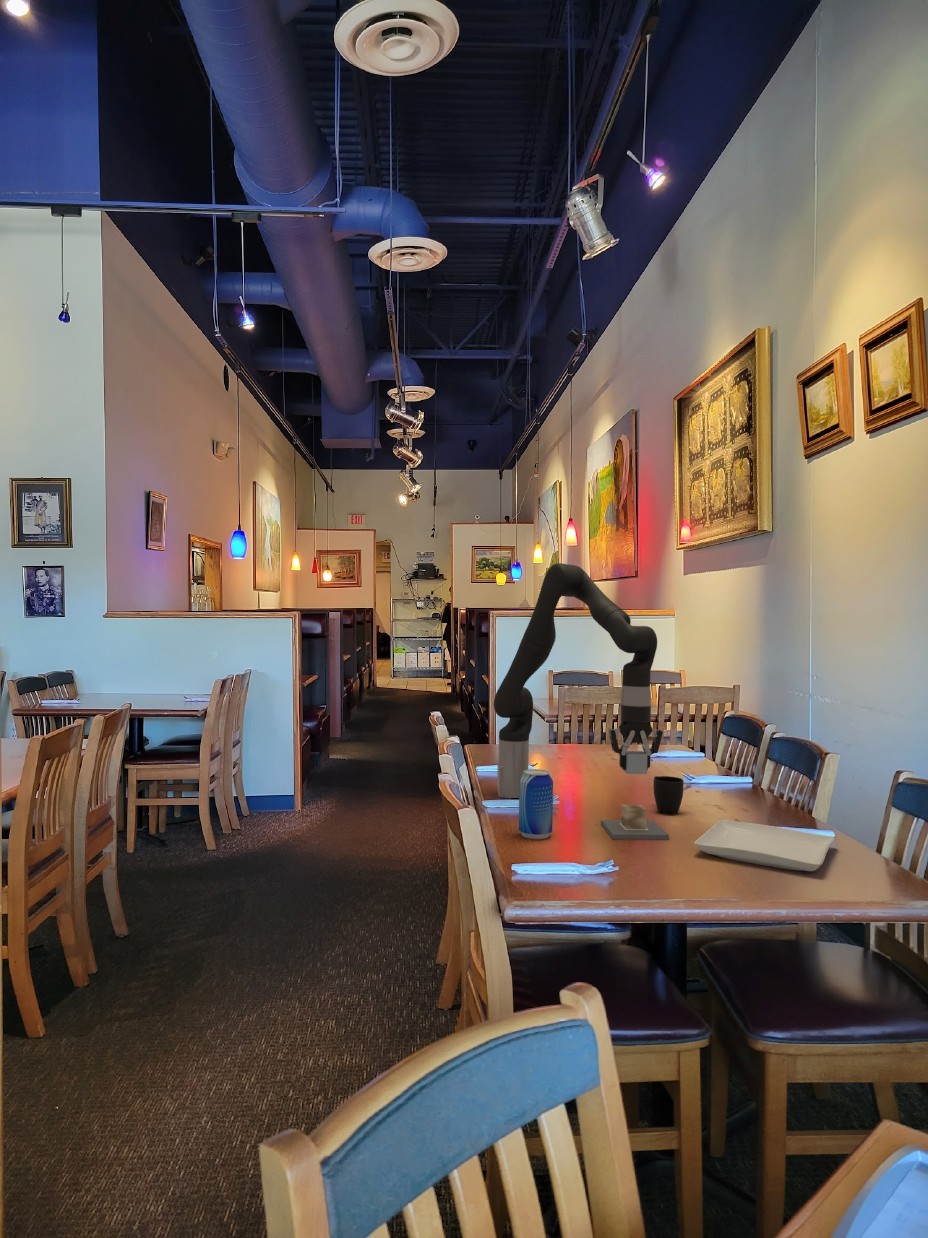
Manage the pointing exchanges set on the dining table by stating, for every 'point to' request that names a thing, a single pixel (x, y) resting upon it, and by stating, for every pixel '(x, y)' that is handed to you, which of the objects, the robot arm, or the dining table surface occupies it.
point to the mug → (668, 794)
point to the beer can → (535, 804)
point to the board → (634, 831)
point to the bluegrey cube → (636, 762)
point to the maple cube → (633, 816)
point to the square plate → (765, 845)
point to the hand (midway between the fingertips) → (634, 769)
